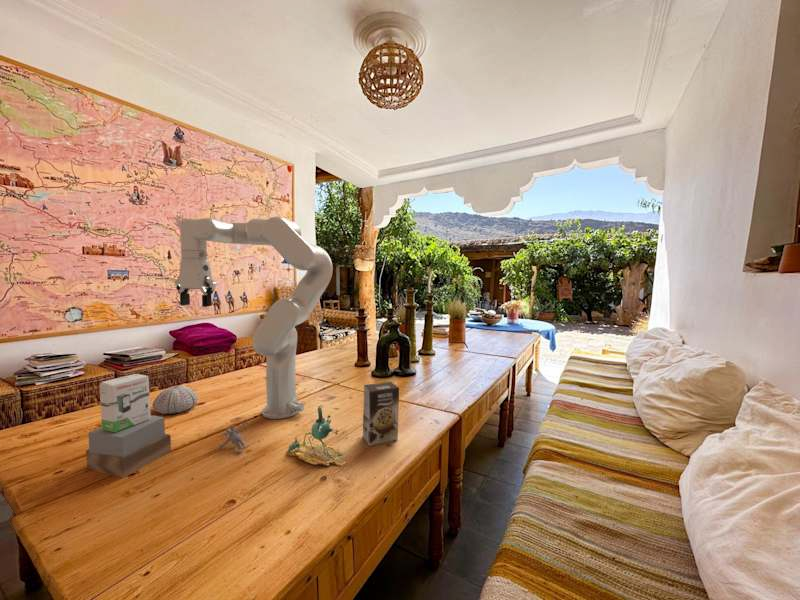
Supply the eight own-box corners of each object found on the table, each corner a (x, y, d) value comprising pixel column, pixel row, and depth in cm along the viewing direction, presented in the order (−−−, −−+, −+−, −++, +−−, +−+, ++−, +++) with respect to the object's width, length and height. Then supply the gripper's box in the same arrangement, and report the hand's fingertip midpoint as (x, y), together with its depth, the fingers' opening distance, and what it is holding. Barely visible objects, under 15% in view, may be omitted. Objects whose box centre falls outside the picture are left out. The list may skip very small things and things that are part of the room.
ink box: (114, 433, 79) (110, 385, 78) (101, 430, 80) (97, 382, 80) (152, 418, 87) (149, 374, 86) (139, 415, 88) (136, 372, 88)
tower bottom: (171, 452, 89) (170, 434, 89) (123, 479, 78) (122, 458, 77) (137, 445, 92) (136, 428, 92) (87, 469, 81) (86, 450, 80)
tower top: (165, 435, 89) (164, 417, 88) (123, 457, 78) (122, 437, 77) (134, 430, 90) (133, 413, 90) (89, 452, 80) (88, 432, 79)
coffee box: (369, 446, 93) (370, 391, 92) (362, 436, 99) (362, 384, 98) (398, 440, 97) (399, 387, 96) (390, 430, 103) (391, 380, 102)
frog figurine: (302, 440, 96) (307, 392, 95) (354, 462, 89) (361, 411, 88) (278, 456, 88) (283, 404, 86) (334, 482, 81) (340, 425, 79)
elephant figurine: (222, 461, 85) (209, 440, 90) (234, 466, 90) (221, 446, 94) (251, 432, 89) (238, 414, 93) (262, 439, 93) (248, 421, 97)
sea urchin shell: (162, 420, 107) (161, 396, 106) (146, 410, 114) (145, 387, 114) (205, 407, 118) (204, 385, 117) (188, 398, 125) (187, 377, 124)
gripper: (223, 256, 114) (224, 305, 116) (184, 256, 119) (186, 303, 121) (204, 255, 107) (206, 308, 109) (164, 255, 112) (166, 305, 114)
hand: (195, 305), depth 115 cm, fingers open, 9 cm apart
